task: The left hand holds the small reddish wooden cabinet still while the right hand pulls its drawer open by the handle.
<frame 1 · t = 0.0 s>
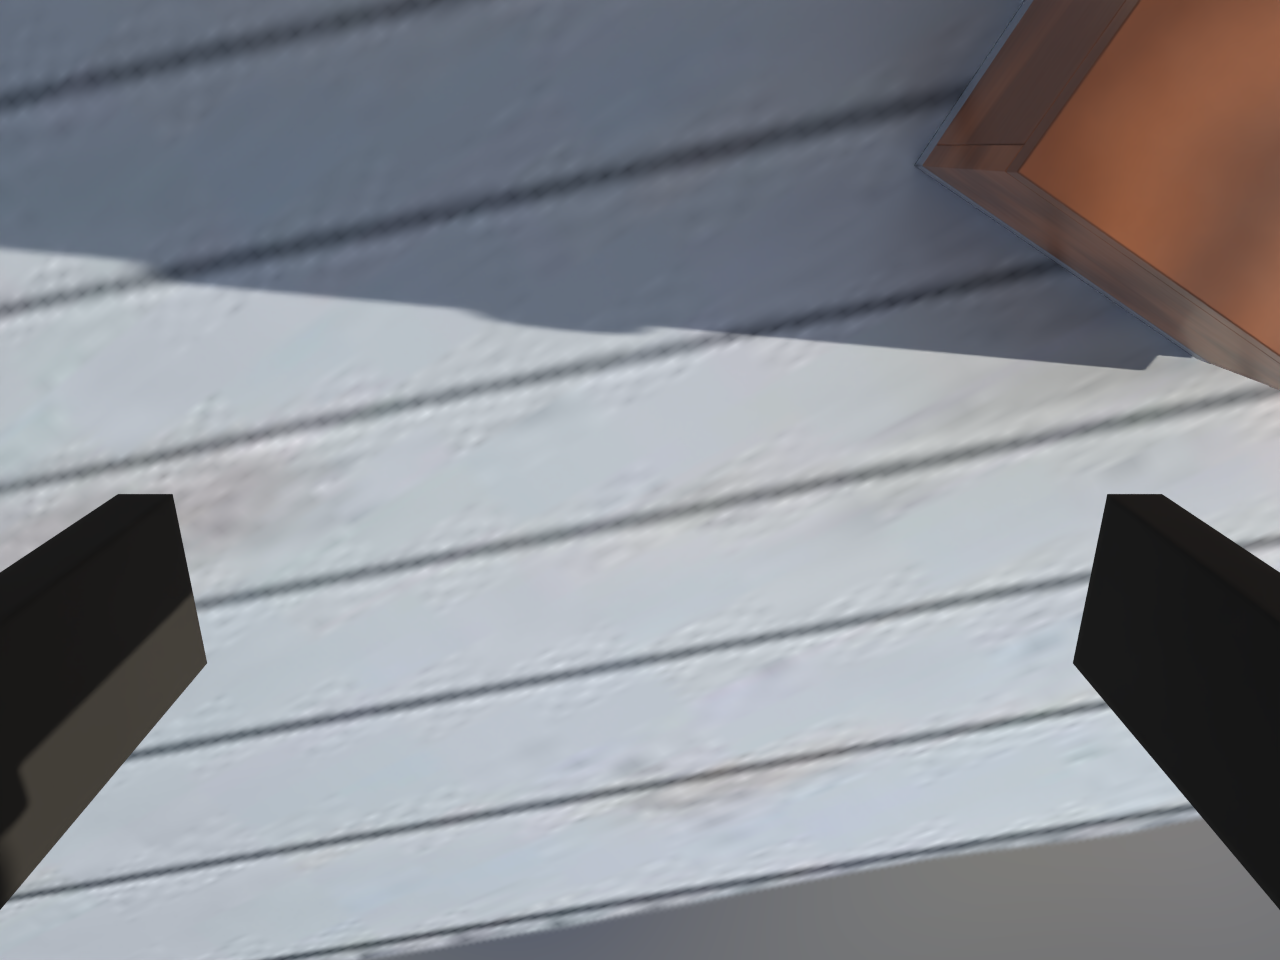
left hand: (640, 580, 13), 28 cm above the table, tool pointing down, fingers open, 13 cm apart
cabinet: (1150, 147, 37), on the table
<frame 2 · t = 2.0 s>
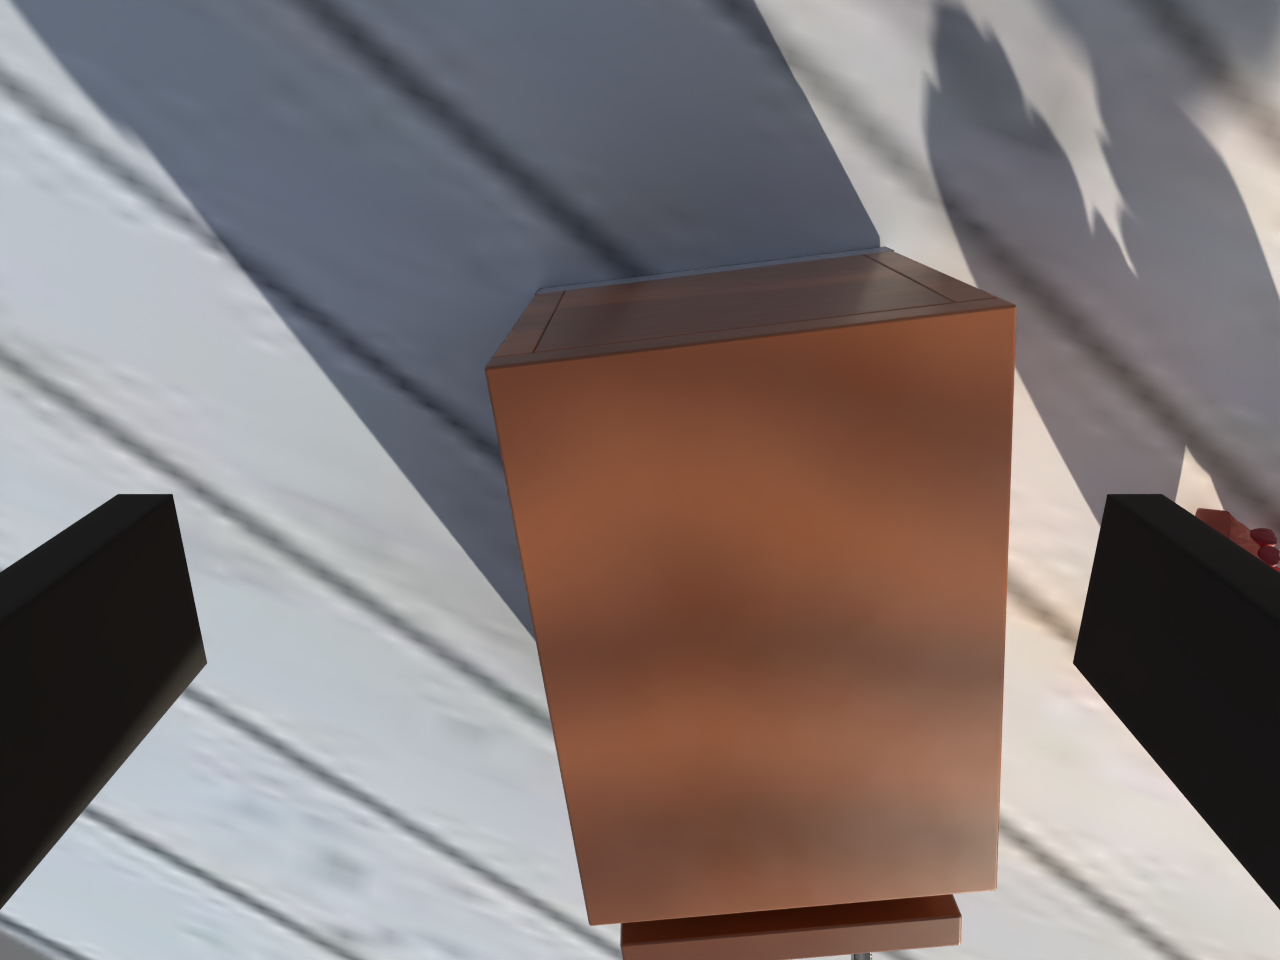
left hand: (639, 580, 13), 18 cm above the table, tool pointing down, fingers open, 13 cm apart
drawer: (762, 738, 29), point 5 cm above the table, slide at 1.9 cm
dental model: (1251, 573, 32), on the table
cabinet: (730, 495, 31), on the table
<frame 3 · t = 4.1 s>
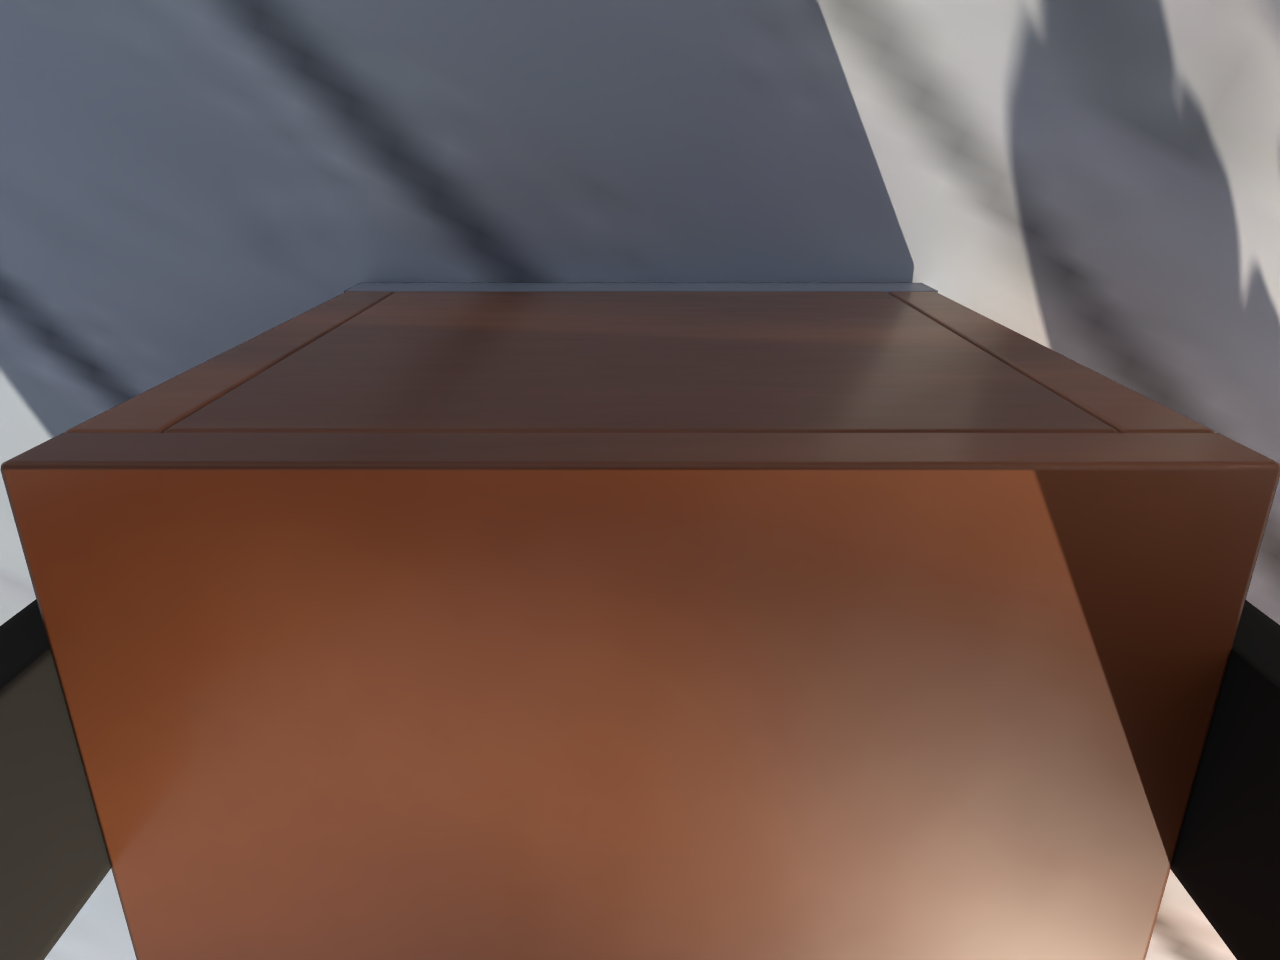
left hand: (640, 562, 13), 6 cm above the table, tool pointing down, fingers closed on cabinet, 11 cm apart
cabinet: (640, 631, 20), on the table, touching left hand
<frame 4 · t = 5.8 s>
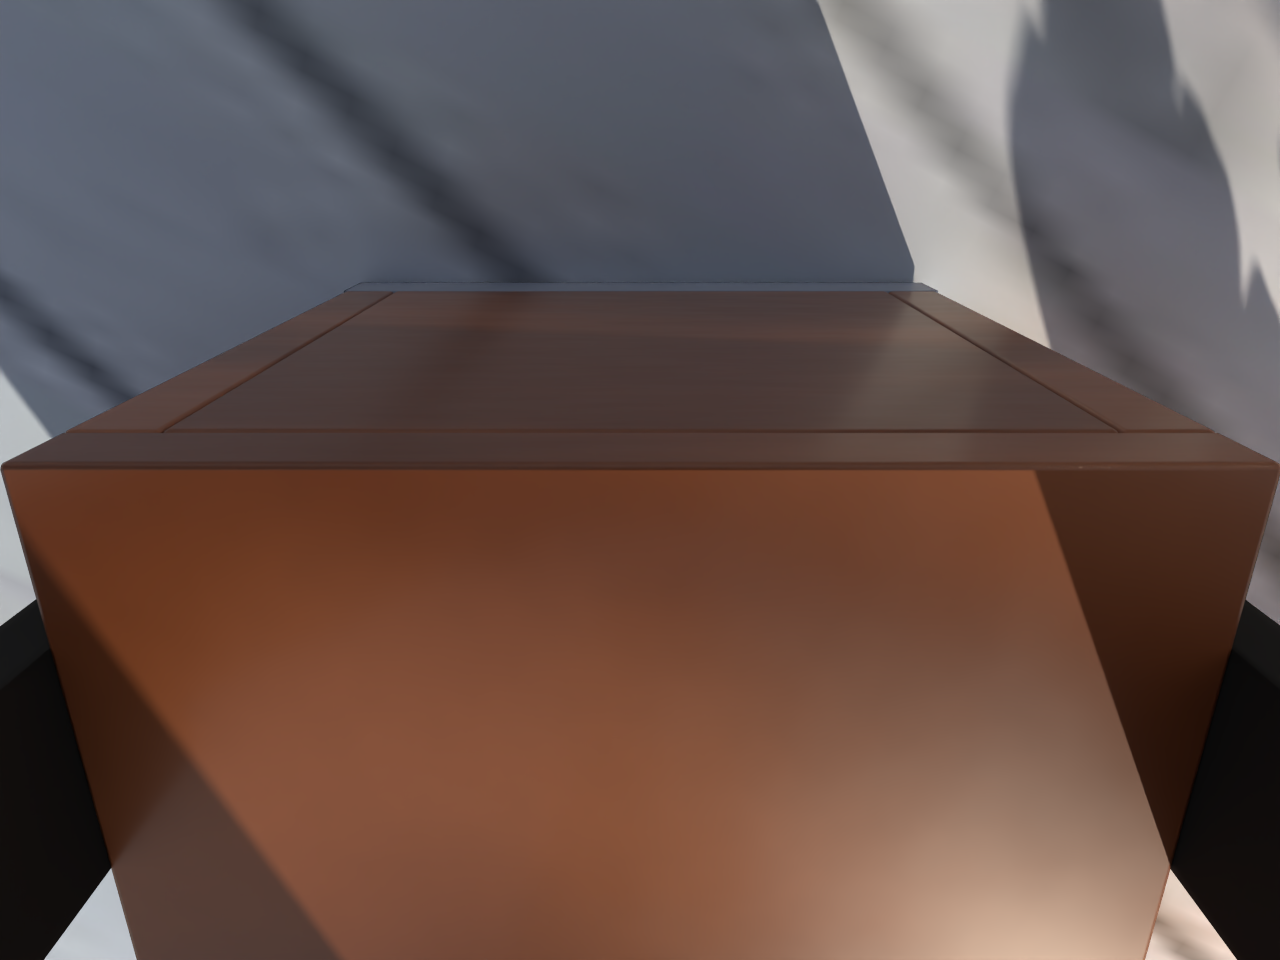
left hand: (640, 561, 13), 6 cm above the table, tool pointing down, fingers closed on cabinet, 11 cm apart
cabinet: (640, 631, 20), on the table, touching left hand
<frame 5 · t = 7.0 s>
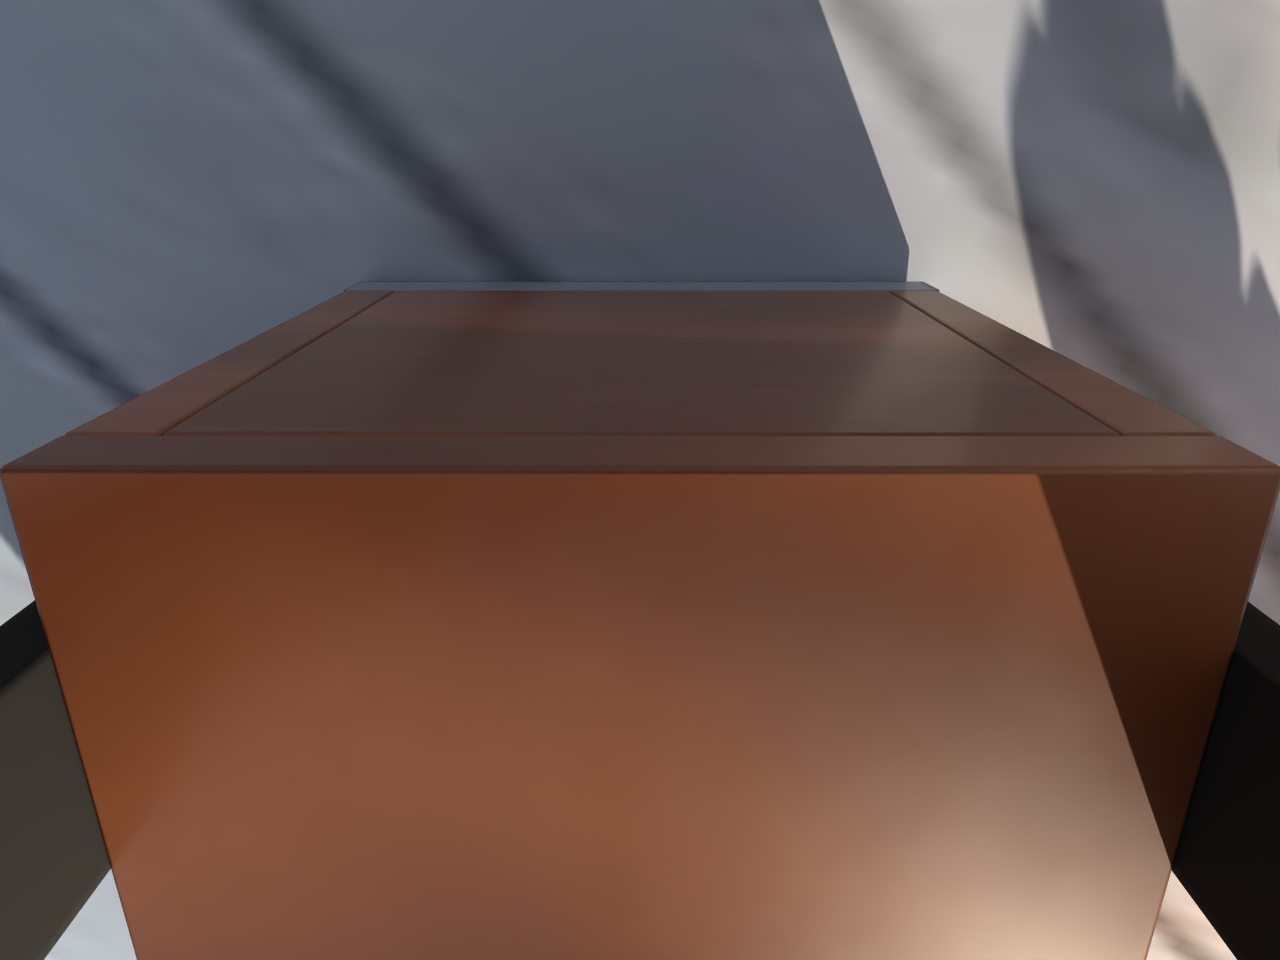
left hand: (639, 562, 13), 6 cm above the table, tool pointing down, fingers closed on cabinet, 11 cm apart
cabinet: (641, 630, 20), on the table, touching left hand
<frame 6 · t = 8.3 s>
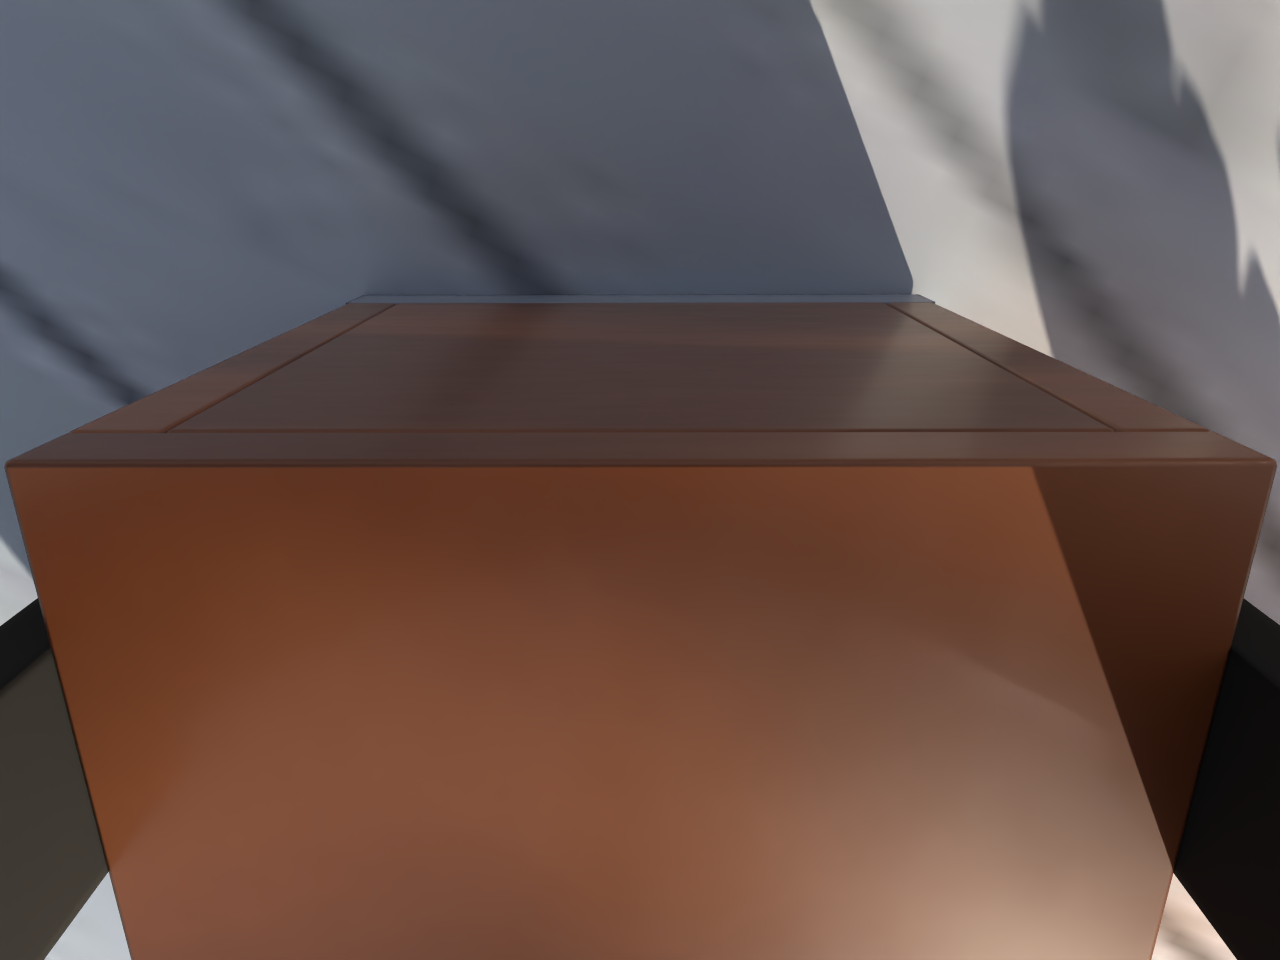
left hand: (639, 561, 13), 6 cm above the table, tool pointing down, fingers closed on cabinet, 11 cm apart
cabinet: (641, 644, 20), on the table, touching left hand
when the left hand's fingers open (6 cm above the table, at t = 9.0 s): cabinet stays where it is, on the table.
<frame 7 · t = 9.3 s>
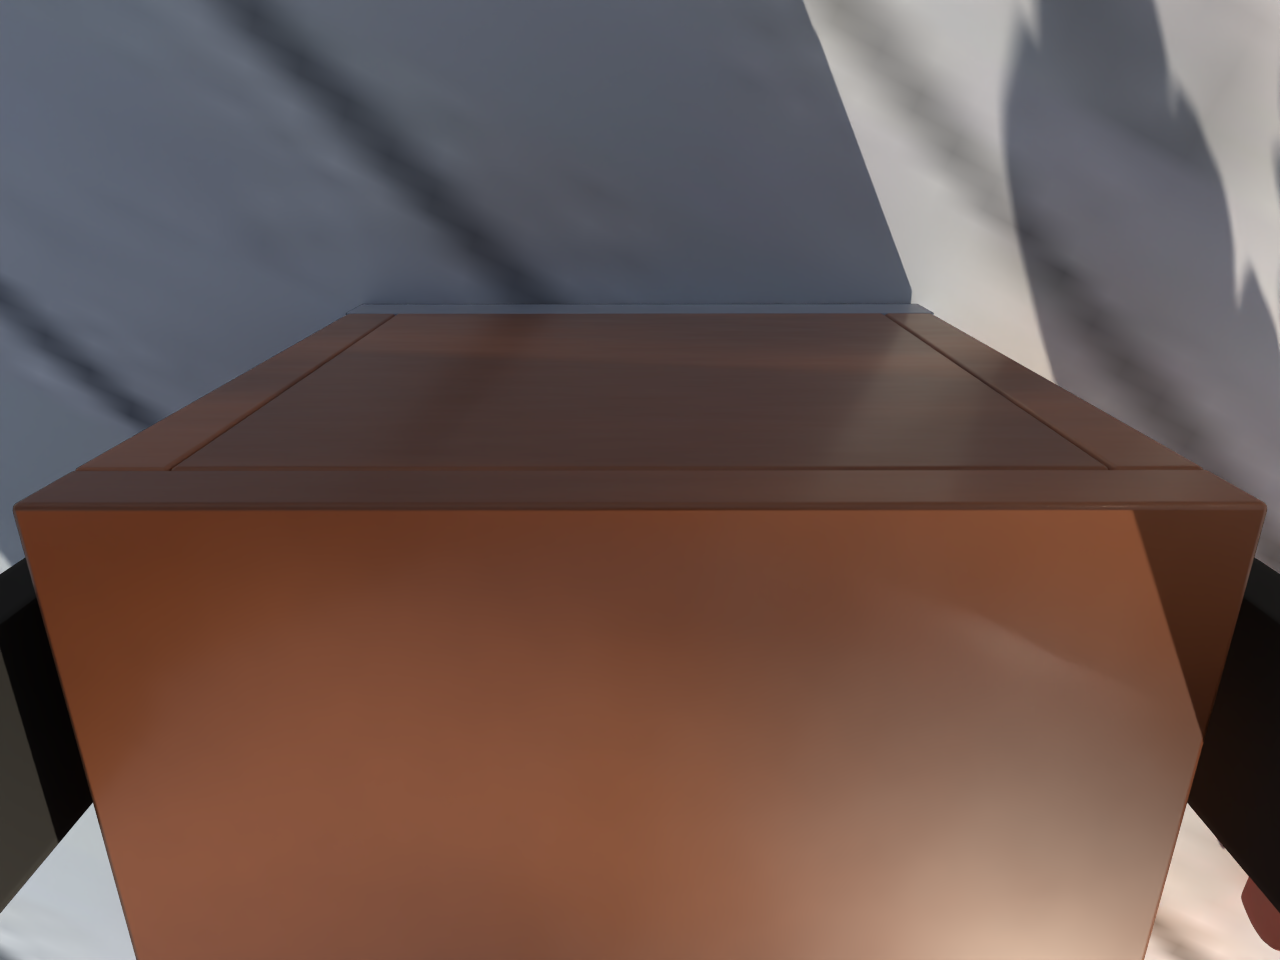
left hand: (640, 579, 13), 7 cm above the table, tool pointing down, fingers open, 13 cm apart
cabinet: (640, 647, 21), on the table
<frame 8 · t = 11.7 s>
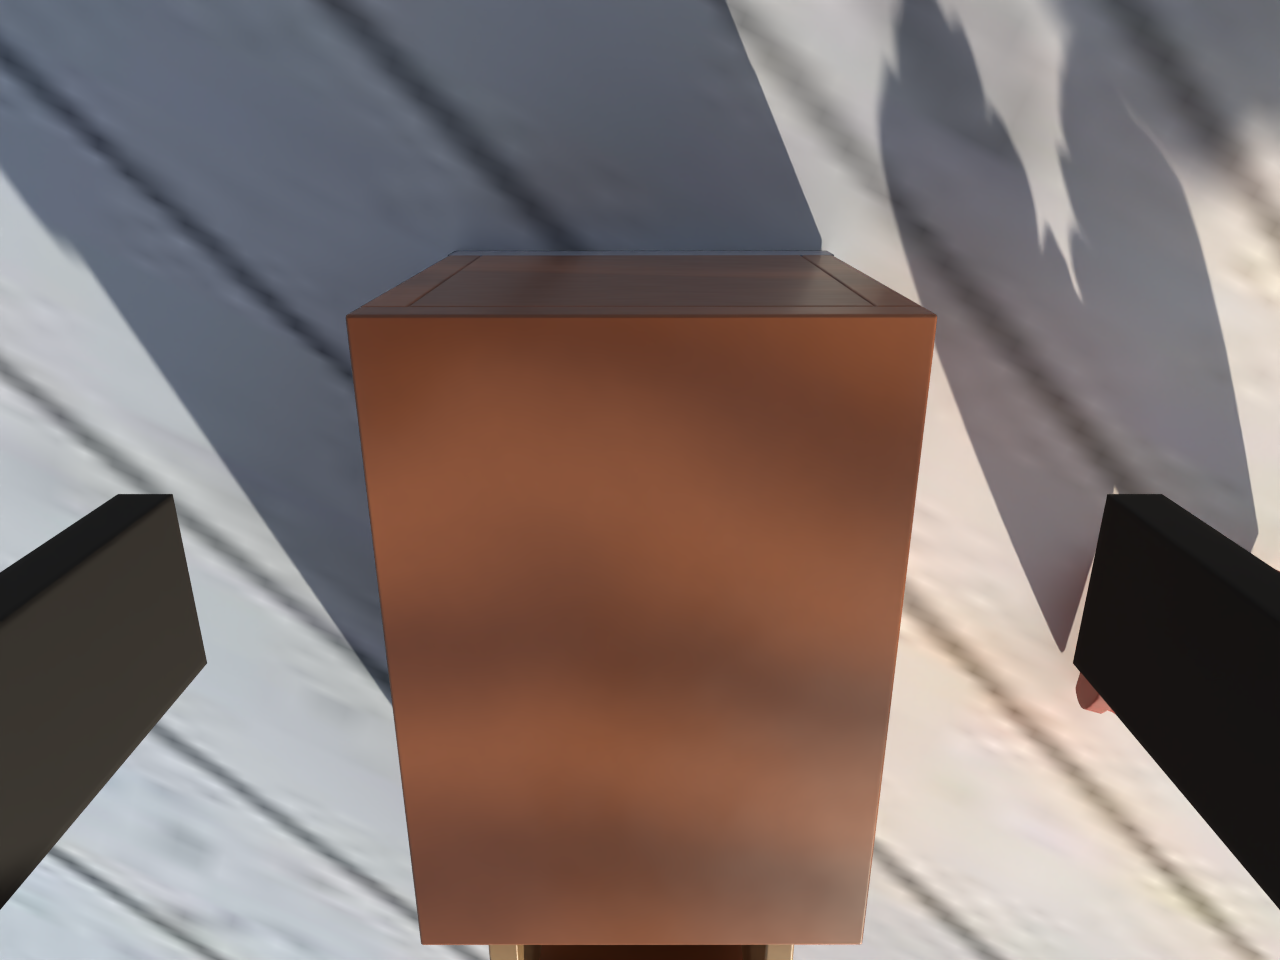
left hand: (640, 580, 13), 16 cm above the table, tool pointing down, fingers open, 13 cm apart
drawer: (641, 906, 29), point 5 cm above the table, slide at 7.9 cm
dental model: (1167, 626, 31), on the table
cabinet: (641, 496, 29), on the table
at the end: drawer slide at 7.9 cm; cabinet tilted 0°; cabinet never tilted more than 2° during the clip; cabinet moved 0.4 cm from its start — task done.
